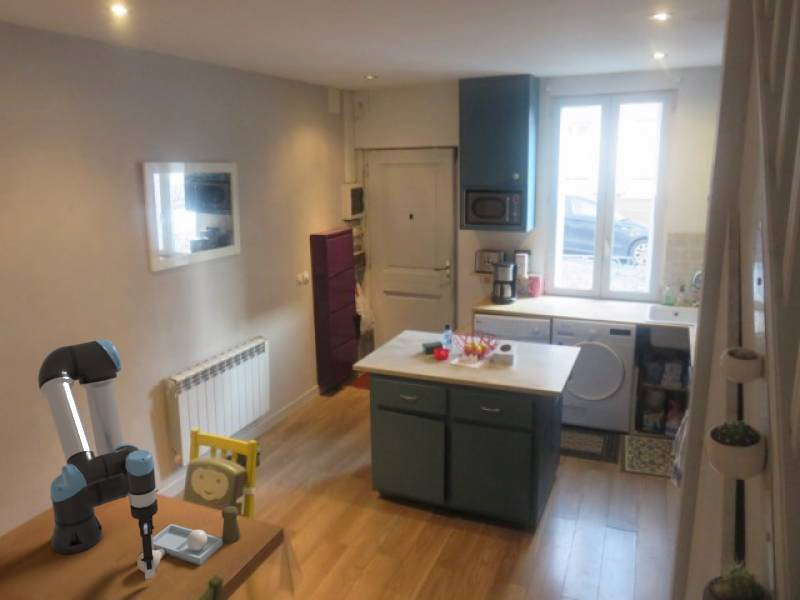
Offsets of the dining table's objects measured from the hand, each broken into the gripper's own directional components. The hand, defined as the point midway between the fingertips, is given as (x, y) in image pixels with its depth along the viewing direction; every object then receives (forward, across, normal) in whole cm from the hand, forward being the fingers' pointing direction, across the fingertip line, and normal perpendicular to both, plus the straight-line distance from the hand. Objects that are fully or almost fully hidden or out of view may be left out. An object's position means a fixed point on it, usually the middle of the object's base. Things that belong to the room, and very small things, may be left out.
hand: (149, 563), depth 191 cm
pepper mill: (+2, +7, -26) cm, 27 cm away
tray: (+2, +8, -11) cm, 13 cm away
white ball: (+1, +4, -14) cm, 15 cm away
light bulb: (+3, +2, -1) cm, 3 cm away
